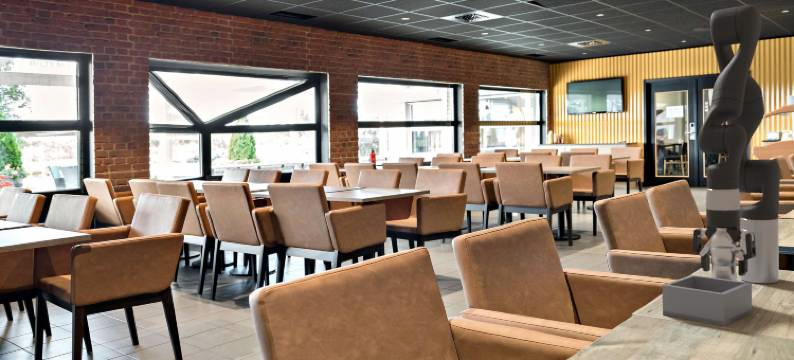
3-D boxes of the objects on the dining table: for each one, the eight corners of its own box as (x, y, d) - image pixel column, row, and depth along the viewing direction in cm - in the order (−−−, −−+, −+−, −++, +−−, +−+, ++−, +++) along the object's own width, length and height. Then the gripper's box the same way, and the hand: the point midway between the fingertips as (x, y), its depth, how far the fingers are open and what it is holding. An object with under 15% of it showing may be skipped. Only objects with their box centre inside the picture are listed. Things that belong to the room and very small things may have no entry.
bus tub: (692, 303, 165) (691, 274, 164) (752, 313, 154) (751, 283, 153) (662, 314, 156) (662, 285, 155) (724, 326, 145) (723, 294, 144)
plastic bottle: (710, 297, 169) (709, 218, 168) (740, 299, 166) (739, 219, 164) (707, 303, 164) (706, 222, 162) (738, 306, 160) (737, 223, 159)
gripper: (760, 207, 160) (761, 274, 161) (701, 204, 171) (702, 267, 172) (746, 210, 155) (747, 279, 156) (686, 207, 166) (687, 271, 167)
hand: (723, 273), depth 164 cm, fingers open, 8 cm apart
